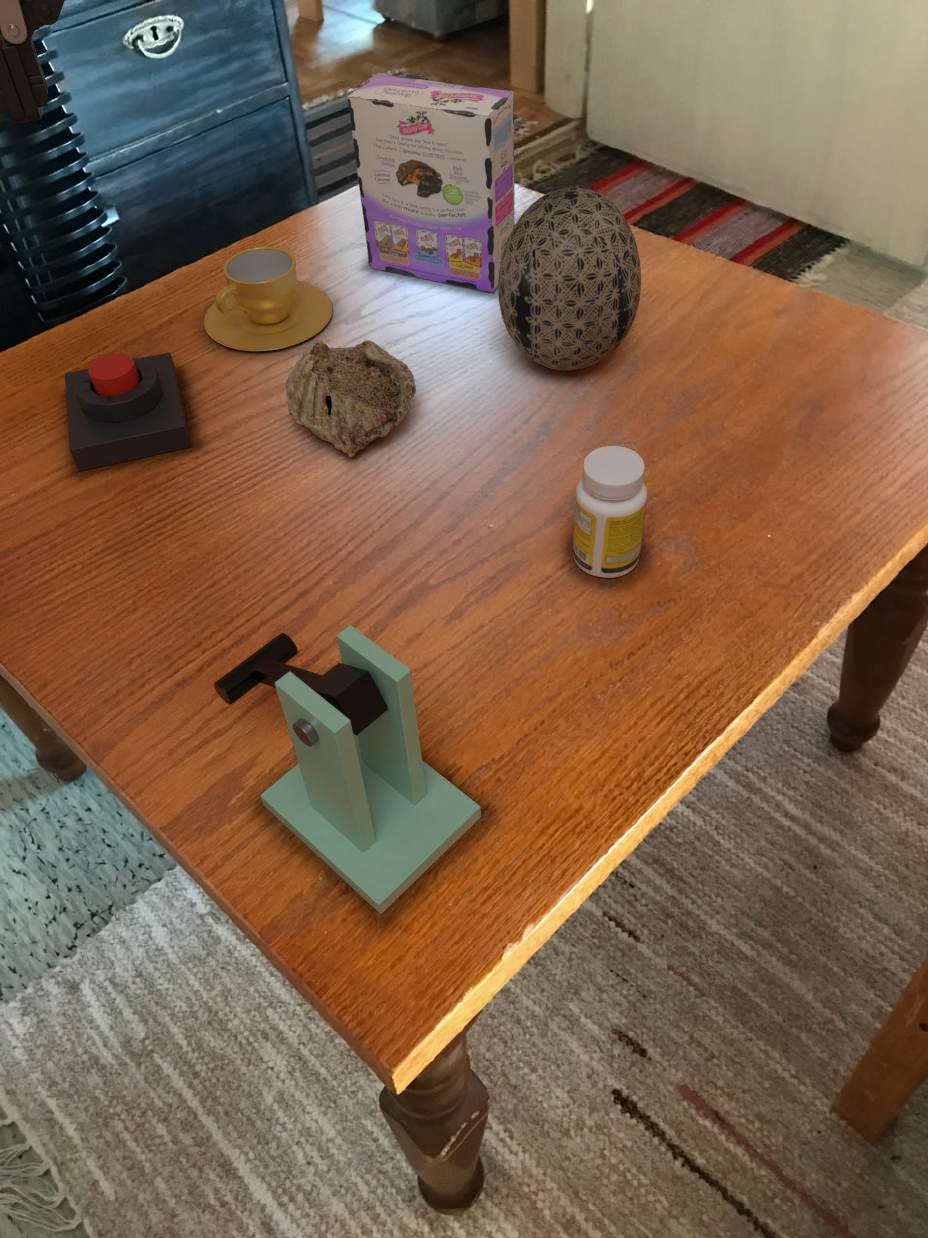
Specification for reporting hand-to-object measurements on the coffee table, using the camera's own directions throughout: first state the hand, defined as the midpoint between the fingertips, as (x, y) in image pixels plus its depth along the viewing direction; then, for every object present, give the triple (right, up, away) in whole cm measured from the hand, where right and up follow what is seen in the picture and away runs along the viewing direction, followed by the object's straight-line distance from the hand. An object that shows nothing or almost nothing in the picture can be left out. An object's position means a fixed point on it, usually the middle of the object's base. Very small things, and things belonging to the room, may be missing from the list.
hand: (28, 115), depth 53 cm
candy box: (+21, +7, +44) cm, 50 cm away
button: (-5, -8, +27) cm, 29 cm away
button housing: (-5, -10, +30) cm, 32 cm away
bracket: (+18, -38, +4) cm, 43 cm away
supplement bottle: (+34, -23, +17) cm, 44 cm away
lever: (+15, -32, 0) cm, 35 cm away
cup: (+5, +1, +39) cm, 40 cm away
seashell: (+14, -11, +28) cm, 34 cm away
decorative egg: (+32, -5, +33) cm, 47 cm away
